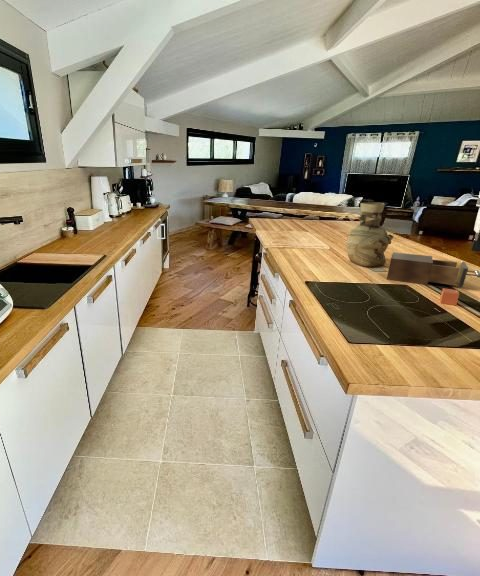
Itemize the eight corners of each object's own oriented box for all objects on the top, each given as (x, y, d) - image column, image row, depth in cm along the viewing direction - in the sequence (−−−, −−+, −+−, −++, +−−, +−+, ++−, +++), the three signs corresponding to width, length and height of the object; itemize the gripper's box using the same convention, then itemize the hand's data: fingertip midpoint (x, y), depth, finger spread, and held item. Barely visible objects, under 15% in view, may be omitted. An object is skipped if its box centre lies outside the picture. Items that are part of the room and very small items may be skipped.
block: (454, 301, 113) (458, 290, 112) (456, 305, 110) (459, 294, 108) (439, 299, 116) (442, 288, 114) (440, 303, 112) (443, 291, 111)
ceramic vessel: (395, 269, 151) (409, 205, 140) (348, 267, 155) (358, 205, 145) (382, 259, 168) (394, 201, 158) (340, 257, 173) (348, 201, 162)
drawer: (474, 281, 130) (480, 263, 127) (478, 290, 121) (484, 270, 118) (420, 274, 140) (425, 257, 137) (421, 281, 131) (425, 264, 128)
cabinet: (426, 277, 139) (432, 256, 136) (427, 285, 130) (433, 263, 126) (388, 272, 147) (392, 252, 144) (386, 279, 137) (391, 258, 134)
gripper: (508, 204, 107) (492, 256, 113) (500, 200, 119) (486, 248, 125) (479, 203, 111) (466, 253, 118) (474, 200, 123) (462, 246, 129)
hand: (476, 250), depth 121 cm, fingers closed
